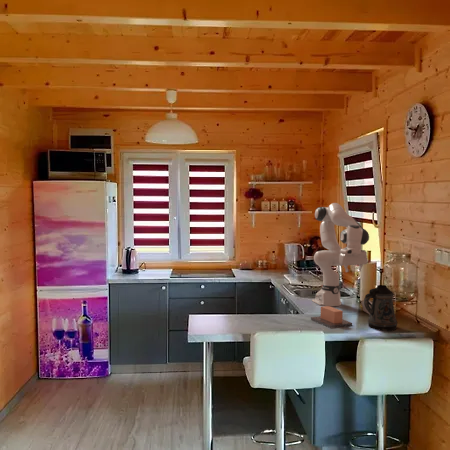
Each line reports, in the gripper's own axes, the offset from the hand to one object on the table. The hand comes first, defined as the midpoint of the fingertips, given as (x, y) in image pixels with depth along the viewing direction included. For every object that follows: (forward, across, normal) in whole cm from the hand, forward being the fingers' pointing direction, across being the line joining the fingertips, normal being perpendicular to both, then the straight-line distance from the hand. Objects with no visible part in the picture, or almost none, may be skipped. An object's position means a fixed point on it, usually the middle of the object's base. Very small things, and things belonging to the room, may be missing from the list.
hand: (353, 271), depth 300 cm
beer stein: (+29, +1, +28) cm, 41 cm away
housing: (+28, +22, +8) cm, 36 cm away
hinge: (+30, -17, -3) cm, 34 cm away
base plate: (+29, +22, +8) cm, 37 cm away
